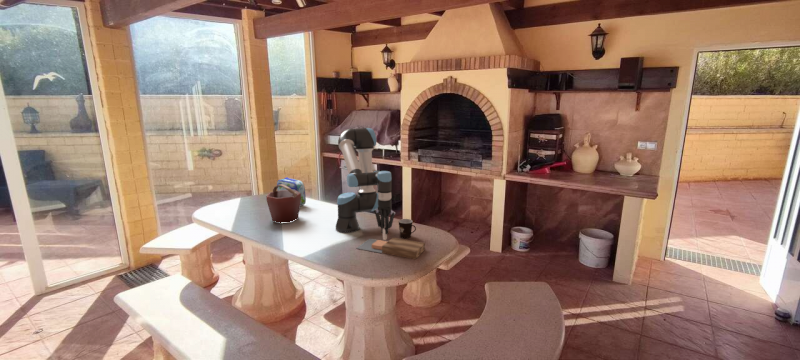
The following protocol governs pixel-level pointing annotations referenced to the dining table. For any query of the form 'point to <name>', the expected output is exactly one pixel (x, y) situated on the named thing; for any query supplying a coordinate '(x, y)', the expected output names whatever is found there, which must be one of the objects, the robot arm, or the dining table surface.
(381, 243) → the tile
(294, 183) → the lunch box
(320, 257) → the dining table surface
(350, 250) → the dining table surface
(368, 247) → the mat
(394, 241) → the block
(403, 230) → the coffee mug
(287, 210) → the bucket
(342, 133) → the robot arm
